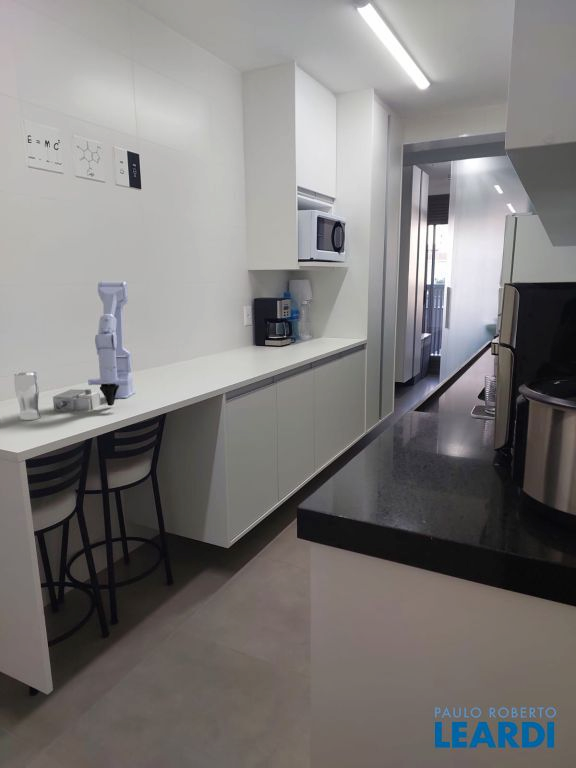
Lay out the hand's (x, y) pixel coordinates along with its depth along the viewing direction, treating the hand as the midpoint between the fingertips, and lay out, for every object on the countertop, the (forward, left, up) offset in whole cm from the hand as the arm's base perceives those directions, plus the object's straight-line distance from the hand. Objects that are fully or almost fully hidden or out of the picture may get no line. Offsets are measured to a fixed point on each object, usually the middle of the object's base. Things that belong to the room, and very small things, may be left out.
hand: (110, 404), depth 180 cm
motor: (+2, -12, -1) cm, 12 cm away
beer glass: (+16, -20, -1) cm, 26 cm away
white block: (0, -8, -1) cm, 8 cm away
